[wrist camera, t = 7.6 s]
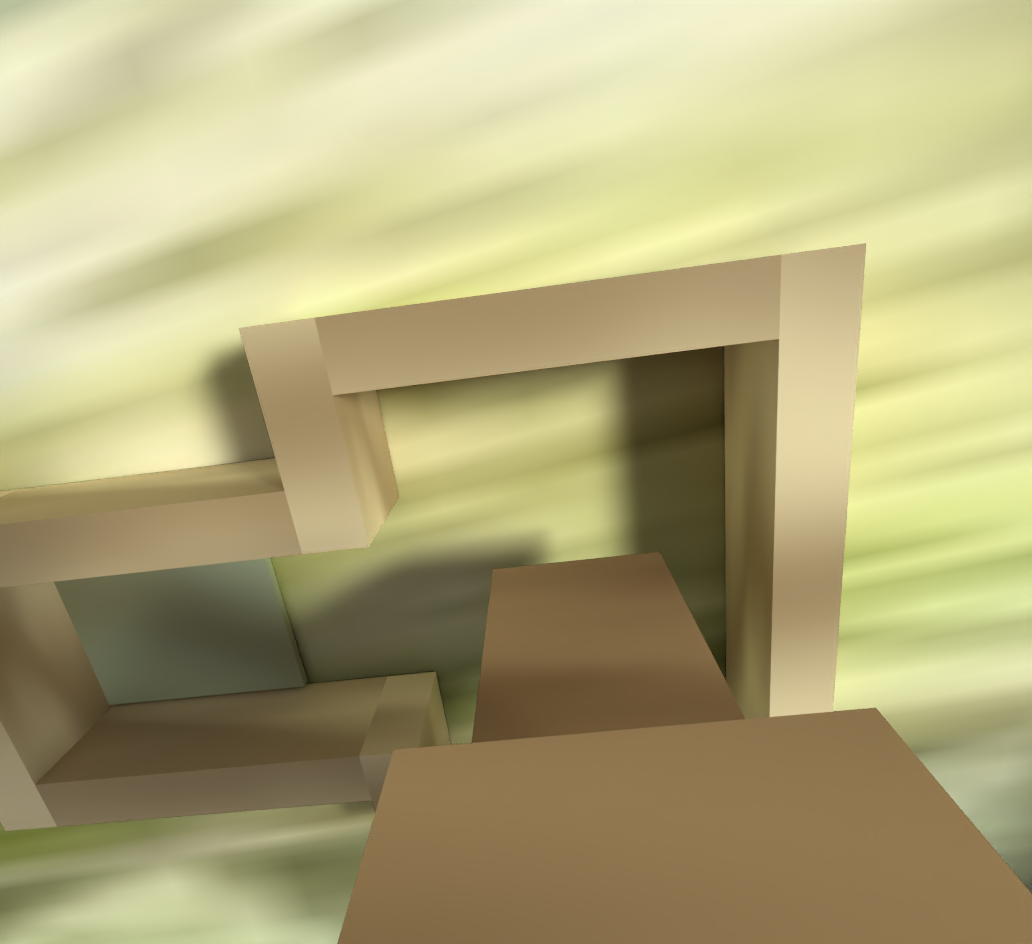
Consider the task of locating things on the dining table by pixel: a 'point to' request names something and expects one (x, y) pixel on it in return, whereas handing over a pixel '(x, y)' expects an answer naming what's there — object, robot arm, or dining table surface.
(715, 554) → the dining table surface
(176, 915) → the dining table surface
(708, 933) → the tan brick
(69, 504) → the keyhole cradle
